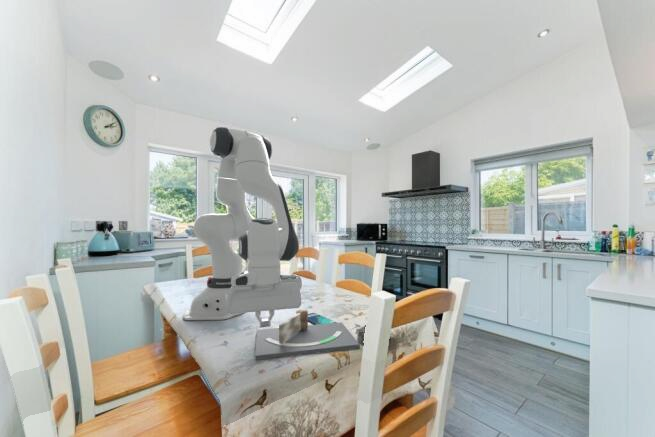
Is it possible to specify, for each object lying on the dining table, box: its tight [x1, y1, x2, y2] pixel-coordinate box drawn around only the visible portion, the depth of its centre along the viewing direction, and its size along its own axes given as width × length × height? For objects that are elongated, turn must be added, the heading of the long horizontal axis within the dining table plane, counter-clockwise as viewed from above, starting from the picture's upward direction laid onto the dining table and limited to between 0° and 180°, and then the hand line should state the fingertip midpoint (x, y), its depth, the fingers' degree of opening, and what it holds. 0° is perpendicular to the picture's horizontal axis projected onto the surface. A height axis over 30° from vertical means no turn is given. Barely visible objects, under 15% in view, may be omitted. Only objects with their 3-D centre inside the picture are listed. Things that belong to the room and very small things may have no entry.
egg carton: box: [355, 324, 367, 345], centre depth 82 cm, size 11×8×4 cm
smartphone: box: [308, 312, 338, 325], centre depth 99 cm, size 7×1×15 cm
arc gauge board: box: [254, 322, 361, 361], centre depth 82 cm, size 28×18×1 cm, turn 103°
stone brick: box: [278, 309, 309, 344], centre depth 82 cm, size 15×4×5 cm, turn 158°
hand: (265, 326), depth 76 cm, fingers closed
